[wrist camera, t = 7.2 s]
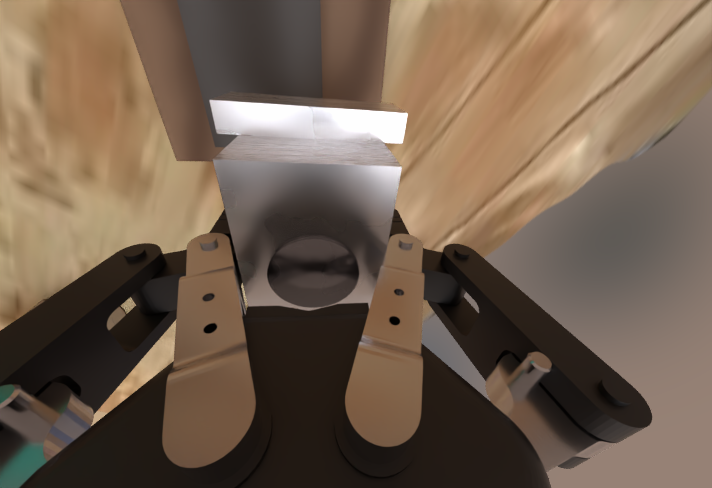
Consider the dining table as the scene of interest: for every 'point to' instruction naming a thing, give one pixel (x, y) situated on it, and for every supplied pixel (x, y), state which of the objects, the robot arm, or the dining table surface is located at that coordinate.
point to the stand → (253, 57)
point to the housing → (308, 194)
